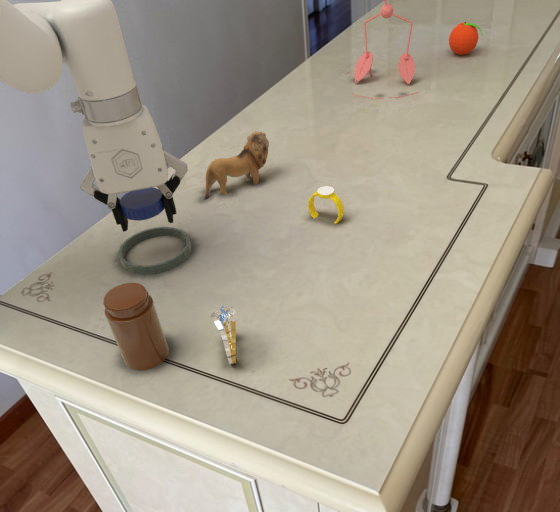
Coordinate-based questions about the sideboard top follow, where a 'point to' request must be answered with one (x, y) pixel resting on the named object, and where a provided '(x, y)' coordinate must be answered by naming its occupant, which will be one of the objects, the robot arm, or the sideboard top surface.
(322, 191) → the watch
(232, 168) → the lion figurine
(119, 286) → the jar
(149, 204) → the lid
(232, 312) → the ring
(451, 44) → the clementine
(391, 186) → the sideboard top surface
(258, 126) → the sideboard top surface
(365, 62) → the balance scale
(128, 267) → the grey-green bangle
